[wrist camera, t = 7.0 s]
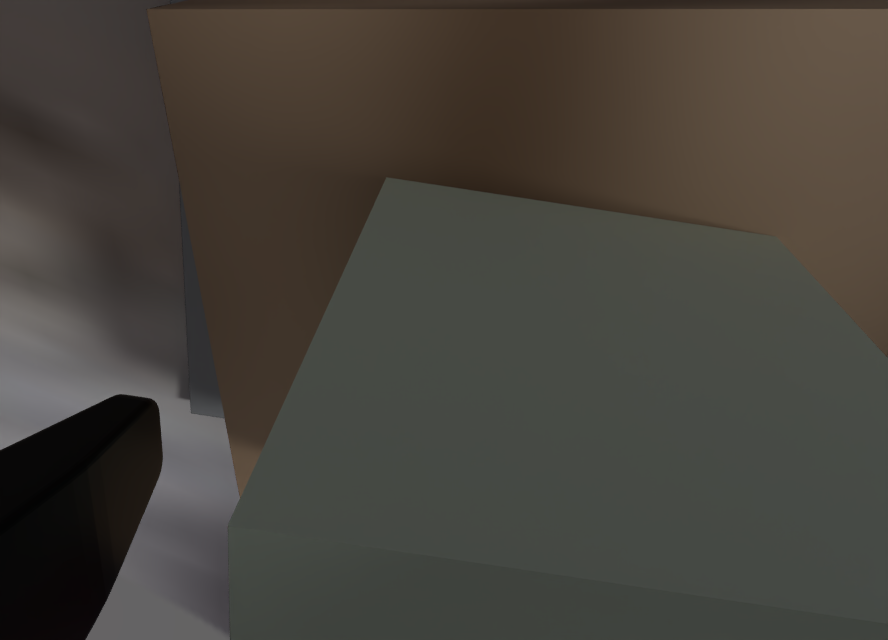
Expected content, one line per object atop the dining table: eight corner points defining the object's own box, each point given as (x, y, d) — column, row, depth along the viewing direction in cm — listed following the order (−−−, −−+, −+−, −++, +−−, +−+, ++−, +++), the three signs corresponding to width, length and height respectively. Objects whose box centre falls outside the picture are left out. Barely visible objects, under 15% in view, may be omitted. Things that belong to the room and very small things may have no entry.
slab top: (900, -8, 10) (1007, 9, 8) (755, 514, 14) (799, 611, 12) (216, -6, 10) (146, 9, 8) (289, 494, 15) (256, 583, 13)
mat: (997, -2, 12) (1012, 0, 12) (766, 488, 17) (771, 500, 17) (173, -128, 12) (163, -130, 11) (197, 403, 17) (191, 413, 17)
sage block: (775, 236, 9) (1167, 663, 4) (664, 522, 11) (806, 1026, 6) (387, 177, 9) (226, 525, 4) (357, 477, 11) (235, 945, 6)
